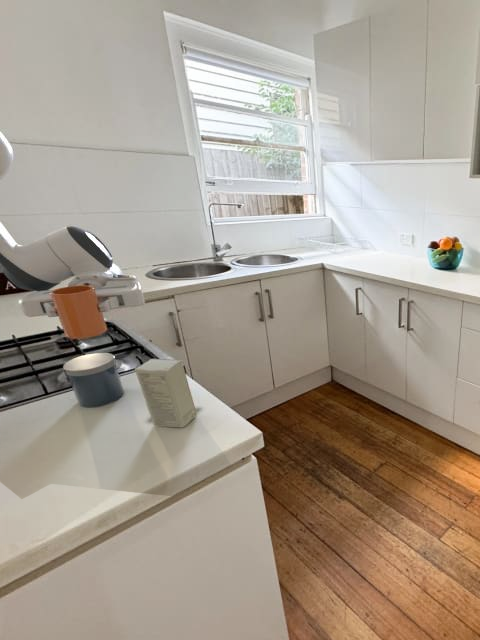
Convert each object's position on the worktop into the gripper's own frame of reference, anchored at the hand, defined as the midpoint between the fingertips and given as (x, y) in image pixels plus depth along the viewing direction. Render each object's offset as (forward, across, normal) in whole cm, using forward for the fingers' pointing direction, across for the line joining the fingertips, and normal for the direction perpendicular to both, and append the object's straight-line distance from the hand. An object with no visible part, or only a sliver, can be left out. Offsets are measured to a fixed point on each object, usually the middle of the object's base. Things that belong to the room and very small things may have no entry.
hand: (78, 310), depth 75 cm
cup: (-1, 0, +5) cm, 5 cm away
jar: (+4, 0, +18) cm, 18 cm away
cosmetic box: (+20, +14, +18) cm, 30 cm away
